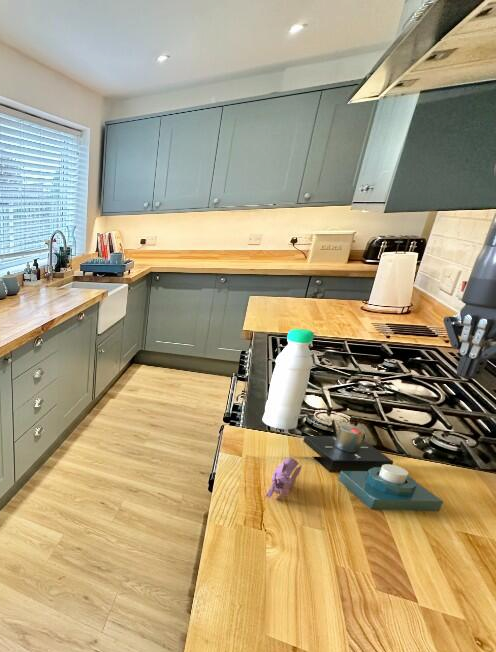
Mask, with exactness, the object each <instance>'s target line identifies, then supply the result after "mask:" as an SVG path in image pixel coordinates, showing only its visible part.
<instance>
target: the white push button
mask: <svg viewBox="0 0 496 652" xmlns="http://www.w3.org/2000/svg"><path fill="white" fill-rule="evenodd" d="M408 475H409V471H408V470H407V469H405V468H403V467H401V466H399V465H396V464H392V465H390V464H385V465H382V467H381V470H380V473H379V477H380V478H382V479H384V480H386V481H388V482H392V483H396V484H404V483H405V481H406V479H407V476H408Z"/></svg>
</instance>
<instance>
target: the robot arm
mask: <svg viewBox="0 0 496 652" xmlns="http://www.w3.org/2000/svg"><path fill="white" fill-rule="evenodd" d="M493 170H494V172H493V173H494V176H496V163H495V164H494V169H493ZM461 302H462V303H463V304H465V305H464V306H463V307H461V309H460V311H459V313H457V314H455V315H453V316H445V317H444V318H443V324H444V327H445V331H446V334H447V337H448V340H449V343H450V346H451V348H452V349H454V350H455V349H456V350H458V351H459V354H460V355H461V356H460V358H459V362H458V364H457V367H456V376H458V377H460V378H463V379H464V380H474V379H476V380H477V379H478V378H479V377H481V376H482V375H483V373H484V370H485V368H486V365H487V363H488V362H489V360H490V359H496V213H495V214H494V216H493V217H492V221H491V223H490V226H489V228H488V231H487V233H486V236H485V240H484V242H483V244H482V247H481V249H480V251H479V253H478V254H477V256H476V258H475V261H474V264H473V266H472V268H471V272H470V274H469V278H468V280H467V282H466V285H465V289H464V291H463V294H462V297H461Z"/></svg>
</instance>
